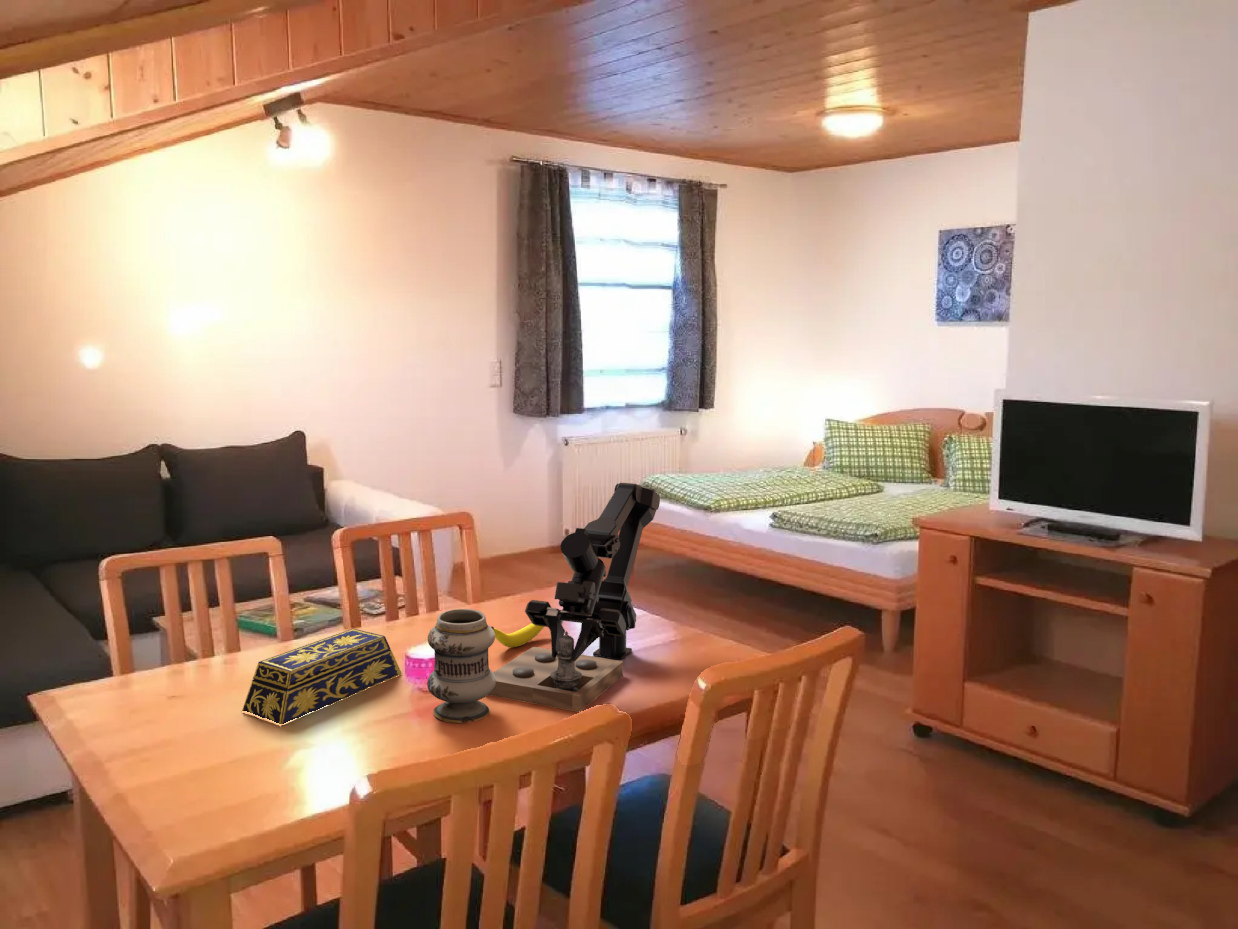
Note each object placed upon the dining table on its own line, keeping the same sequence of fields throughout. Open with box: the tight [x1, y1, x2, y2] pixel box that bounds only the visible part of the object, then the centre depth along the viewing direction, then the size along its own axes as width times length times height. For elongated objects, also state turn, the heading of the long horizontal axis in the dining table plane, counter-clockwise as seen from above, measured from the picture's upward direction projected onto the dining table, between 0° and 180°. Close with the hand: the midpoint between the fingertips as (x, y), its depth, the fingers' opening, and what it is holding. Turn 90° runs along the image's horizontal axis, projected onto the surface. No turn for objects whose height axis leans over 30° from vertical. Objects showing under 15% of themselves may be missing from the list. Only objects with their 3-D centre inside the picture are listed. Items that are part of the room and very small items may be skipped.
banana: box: [490, 622, 545, 648], centre depth 213 cm, size 3×19×6 cm, turn 144°
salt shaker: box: [551, 630, 582, 692], centre depth 184 cm, size 6×6×12 cm
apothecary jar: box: [426, 608, 496, 724], centre depth 176 cm, size 12×12×18 cm
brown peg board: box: [488, 646, 624, 713], centre depth 191 cm, size 20×20×4 cm
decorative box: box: [241, 628, 403, 724], centre depth 185 cm, size 11×30×9 cm, turn 149°
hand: (563, 658), depth 183 cm, fingers closed on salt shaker, 4 cm apart
